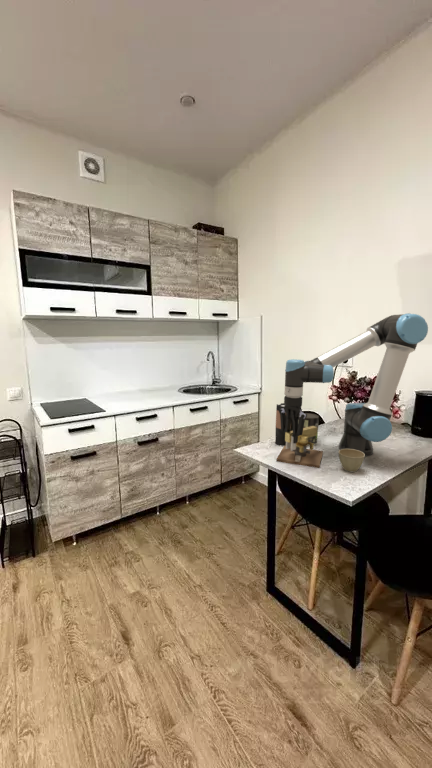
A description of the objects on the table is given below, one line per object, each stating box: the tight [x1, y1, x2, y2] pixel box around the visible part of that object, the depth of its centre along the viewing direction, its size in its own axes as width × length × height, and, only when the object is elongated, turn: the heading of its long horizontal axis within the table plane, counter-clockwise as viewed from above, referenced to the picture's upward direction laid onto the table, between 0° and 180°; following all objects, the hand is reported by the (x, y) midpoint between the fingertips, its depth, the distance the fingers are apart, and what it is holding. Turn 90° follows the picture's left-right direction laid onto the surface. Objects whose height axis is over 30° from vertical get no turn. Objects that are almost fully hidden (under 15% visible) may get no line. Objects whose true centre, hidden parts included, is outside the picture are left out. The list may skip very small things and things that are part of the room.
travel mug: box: [275, 402, 292, 447], centre depth 166 cm, size 8×8×20 cm
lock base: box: [275, 445, 324, 469], centre depth 149 cm, size 18×18×6 cm
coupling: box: [285, 426, 317, 453], centre depth 148 cm, size 18×8×9 cm, turn 124°
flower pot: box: [338, 449, 366, 473], centre depth 137 cm, size 10×10×7 cm
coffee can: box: [298, 412, 320, 447], centre depth 169 cm, size 10×10×14 cm
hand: (290, 448), depth 145 cm, fingers closed on coupling, 2 cm apart
